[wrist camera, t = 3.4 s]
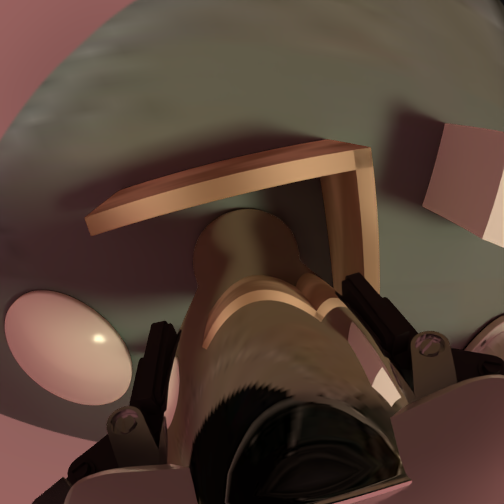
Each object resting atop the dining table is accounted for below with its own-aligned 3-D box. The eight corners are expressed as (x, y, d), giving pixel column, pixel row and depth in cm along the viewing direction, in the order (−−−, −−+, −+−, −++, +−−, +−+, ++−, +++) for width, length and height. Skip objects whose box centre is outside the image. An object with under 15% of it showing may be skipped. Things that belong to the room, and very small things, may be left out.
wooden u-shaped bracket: (327, 139, 16) (370, 147, 11) (346, 312, 20) (376, 360, 16) (118, 190, 15) (84, 217, 11) (182, 353, 20) (179, 409, 16)
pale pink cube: (421, 206, 18) (481, 239, 13) (443, 123, 16) (511, 133, 10) (471, 225, 19) (525, 257, 14) (492, 154, 17) (550, 172, 12)
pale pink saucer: (90, 274, 17) (87, 279, 16) (155, 394, 22) (154, 399, 21) (-13, 304, 17) (-17, 308, 16) (53, 401, 21) (51, 406, 21)
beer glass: (191, 313, 19) (186, 567, 5) (180, 203, 16) (91, 509, 2) (301, 305, 20) (397, 530, 6) (307, 198, 17) (521, 417, 3)
